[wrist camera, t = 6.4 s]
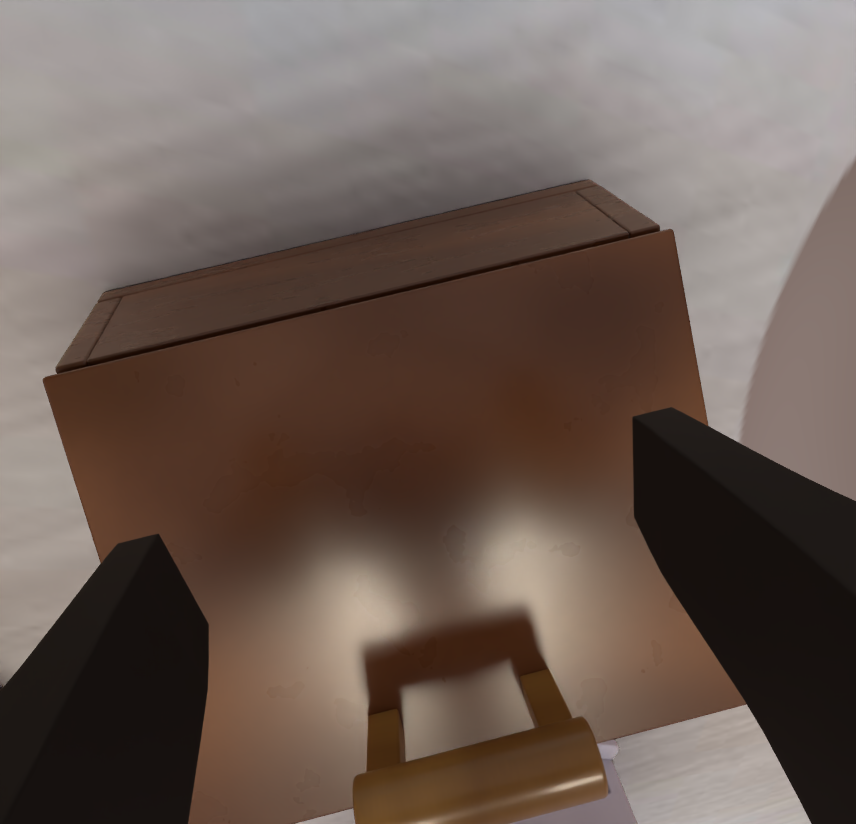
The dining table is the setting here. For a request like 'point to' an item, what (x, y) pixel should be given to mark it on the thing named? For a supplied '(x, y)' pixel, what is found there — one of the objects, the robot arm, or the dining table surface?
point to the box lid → (413, 537)
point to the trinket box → (351, 270)
